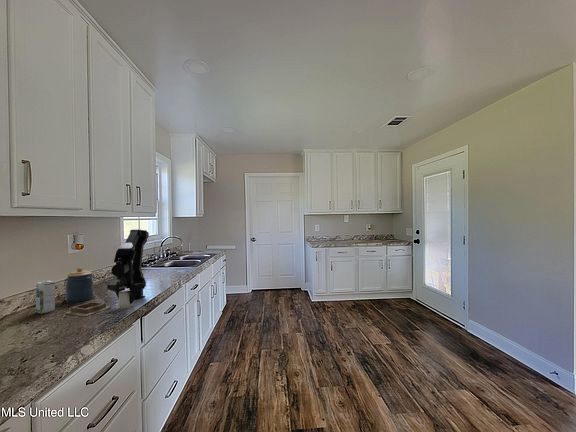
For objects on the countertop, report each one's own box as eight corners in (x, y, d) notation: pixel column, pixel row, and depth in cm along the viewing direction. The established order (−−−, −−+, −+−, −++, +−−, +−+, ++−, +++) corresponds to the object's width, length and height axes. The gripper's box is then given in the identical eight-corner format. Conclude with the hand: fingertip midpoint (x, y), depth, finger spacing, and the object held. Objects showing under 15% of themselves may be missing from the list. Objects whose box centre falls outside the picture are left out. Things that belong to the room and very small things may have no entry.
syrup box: (35, 312, 134) (35, 282, 134) (50, 308, 139) (50, 279, 140) (40, 314, 132) (40, 283, 132) (55, 310, 137) (55, 280, 137)
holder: (91, 305, 144) (91, 300, 144) (111, 307, 140) (110, 302, 140) (65, 313, 131) (65, 308, 131) (85, 316, 127) (85, 311, 127)
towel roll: (126, 304, 145) (126, 289, 145) (136, 305, 143) (136, 290, 143) (115, 308, 139) (115, 292, 139) (125, 309, 137) (125, 293, 137)
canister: (61, 303, 147) (61, 270, 148) (68, 297, 159) (68, 266, 159) (91, 300, 153) (91, 268, 153) (96, 294, 165) (95, 264, 165)
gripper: (96, 274, 136) (97, 306, 136) (126, 276, 130) (126, 309, 130) (117, 270, 147) (117, 299, 146) (145, 272, 141) (145, 302, 141)
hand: (126, 303), depth 141 cm, fingers closed on towel roll, 6 cm apart
